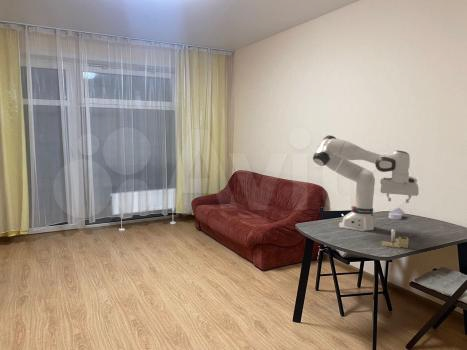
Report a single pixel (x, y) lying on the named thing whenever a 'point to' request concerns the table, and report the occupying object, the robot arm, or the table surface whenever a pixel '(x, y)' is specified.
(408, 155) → the robot arm
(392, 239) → the pin
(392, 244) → the hinge leaves
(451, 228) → the table surface
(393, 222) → the table surface
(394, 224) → the table surface
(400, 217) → the wedge on round base
